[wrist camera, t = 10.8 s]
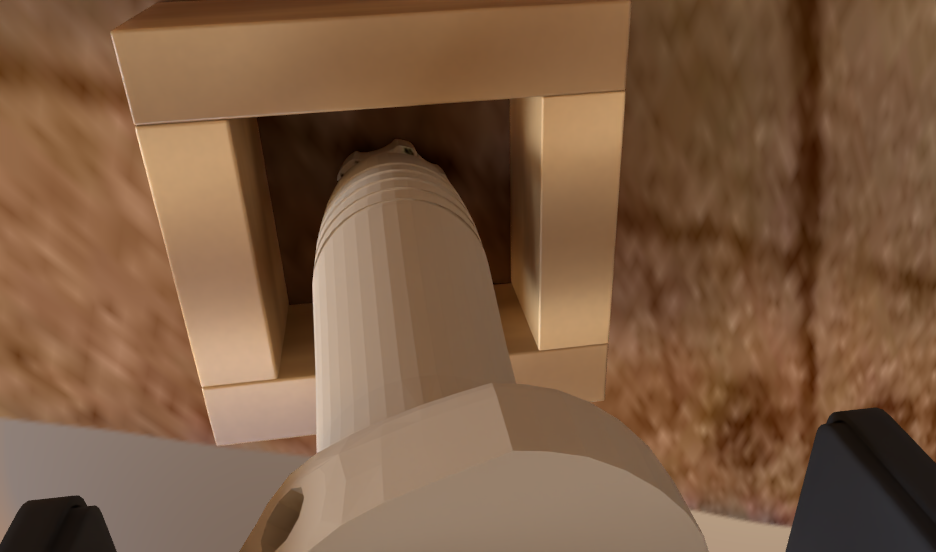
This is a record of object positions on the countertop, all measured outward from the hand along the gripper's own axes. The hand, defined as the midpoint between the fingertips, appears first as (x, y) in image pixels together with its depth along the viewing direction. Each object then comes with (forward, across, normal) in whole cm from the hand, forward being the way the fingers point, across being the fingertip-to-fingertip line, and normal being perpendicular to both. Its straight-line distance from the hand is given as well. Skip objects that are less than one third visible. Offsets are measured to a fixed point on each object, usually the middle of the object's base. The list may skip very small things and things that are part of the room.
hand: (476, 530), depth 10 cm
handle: (+14, +1, 0) cm, 14 cm away
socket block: (+13, +1, 0) cm, 13 cm away
